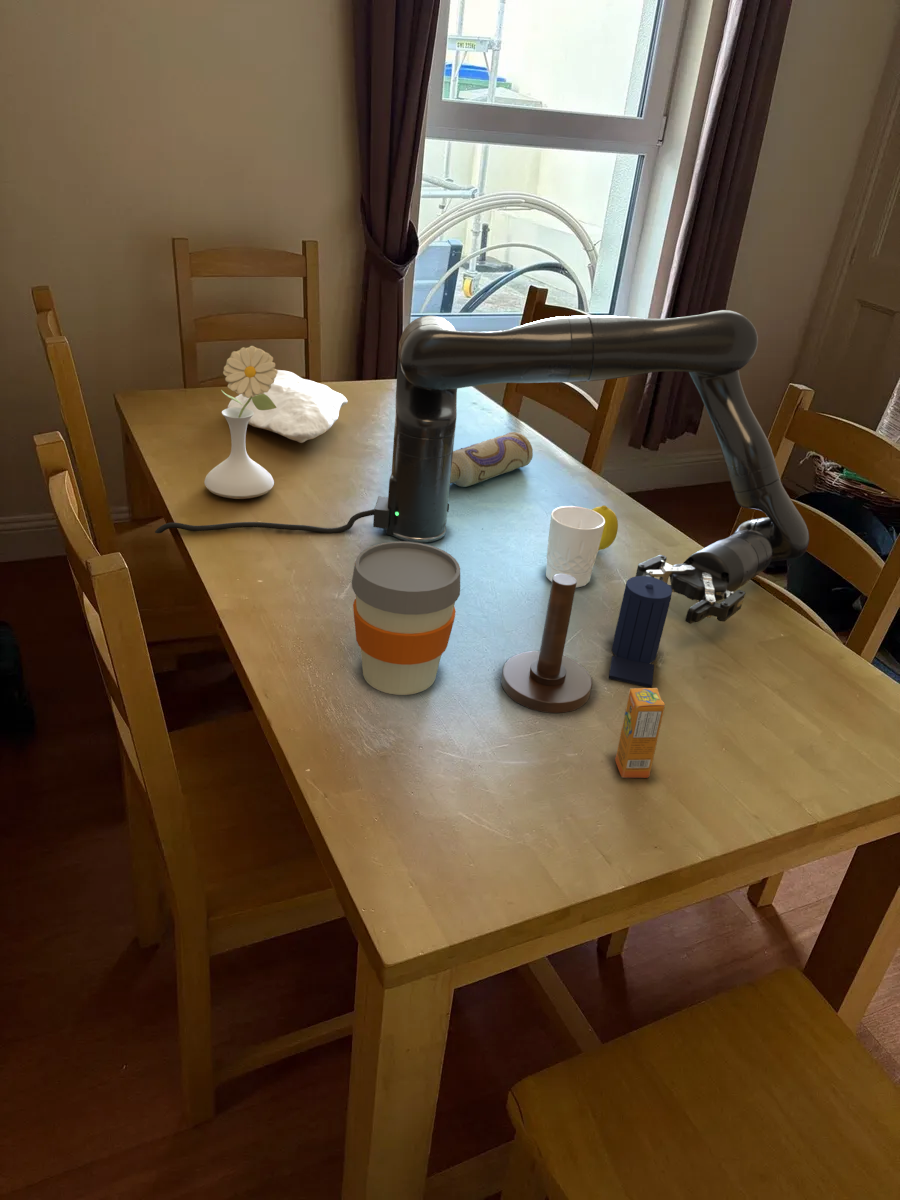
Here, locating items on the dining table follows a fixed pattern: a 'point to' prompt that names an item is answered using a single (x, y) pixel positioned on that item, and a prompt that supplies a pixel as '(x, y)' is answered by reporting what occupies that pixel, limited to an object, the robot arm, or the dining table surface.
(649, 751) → the supplement box
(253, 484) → the flower in vase
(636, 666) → the navy lidded canister
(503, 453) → the decorative bottle
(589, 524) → the white cup
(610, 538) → the lemon
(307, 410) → the crumpled cloth
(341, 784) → the dining table surface
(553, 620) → the paper towel holder
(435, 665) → the reusable coffee cup
